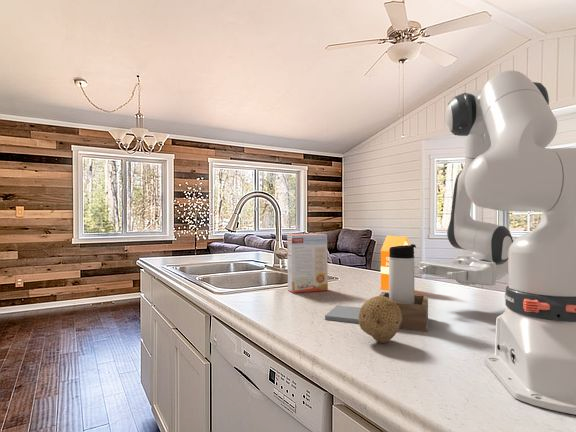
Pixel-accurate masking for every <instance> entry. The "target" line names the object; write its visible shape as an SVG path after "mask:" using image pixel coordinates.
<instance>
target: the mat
mask: <svg viewBox="0 0 576 432" xmlns="http://www.w3.org/2000/svg"><path fill="white" fill-rule="evenodd" d="M360 309H361V307H359V306H358V307H356V306H349V305H348V306H347V305H335V306H334V307H333V308H332V309H331V310H329V312H327V313H326V314H325V315H324V320H327V321H335V322H336V321H337V322H345V323H351V324H359V312H360Z"/></svg>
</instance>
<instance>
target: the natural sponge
mask: <svg viewBox="0 0 576 432" xmlns="http://www.w3.org/2000/svg"><path fill="white" fill-rule="evenodd" d="M360 308H361V309H360V312H359V323H358V324H359V327H360V329H361V330H362V331H363V332H364V333H365V334H367V335H369V336H370V337H372V339H373V340H375V341H376V342H379V343H382V344H384V343H387V342H389V341H391V340H392V339H393V338H394V337H395V335H396V334H397V332H398V331H399V329H400V328H399V327H400V325H401V322H402V314H401V310H400V308H399V306H398V305H397V304H396V303H395V302H394V301H393V300H392V299H390V298H388V297H384V296H379V295H375V296H373V297H371V298H368V299H367V300H366V301H365V302H364V303H363V304H362V306H360Z"/></svg>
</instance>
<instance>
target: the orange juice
mask: <svg viewBox="0 0 576 432" xmlns="http://www.w3.org/2000/svg"><path fill="white" fill-rule="evenodd" d="M404 245H411V244H410V242H409V239H408V236H401V235H399V236H398V235H386V237H385V239H384V242H383V244H382V247H381V249H380V290H384V291H389V254H390V253H389V249H390V247H395V246H404Z"/></svg>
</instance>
